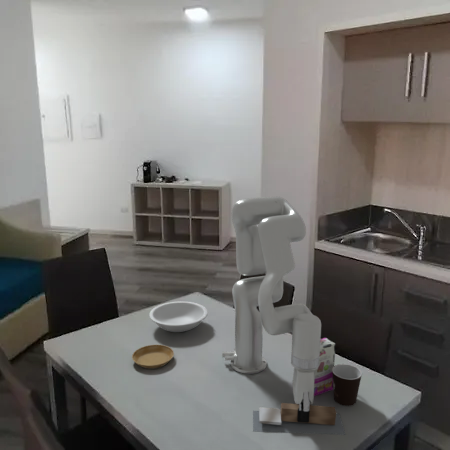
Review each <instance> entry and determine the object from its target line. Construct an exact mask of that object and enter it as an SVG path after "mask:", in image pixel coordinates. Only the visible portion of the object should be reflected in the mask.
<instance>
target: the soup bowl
mask: <svg viewBox="0 0 450 450" xmlns="http://www.w3.org/2000/svg"><path fill="white" fill-rule="evenodd" d="M208 314H209V312H208V309H207V308H206V307H205V305H202V304H200V303H197V302H193V301H182V300H181V301H180V300H179V301H177V300H176V301H171V302H165V303H163V304H162V303H161V304H159V305H156V306H154V308H151V310H150V312H149V316H148V317H149V319H150V321H152V322H153V323H155V324H156V325H157V326H158V327H159V328H161V329H162V330H164V331H167V332H172V333H182V332H188V331H191V330H192V329H195V328H196V327H197V326H198V325H200V324H201V323H202V321H203V320H205V319H206V318H207V316H208Z"/></svg>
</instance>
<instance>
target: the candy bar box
mask: <svg viewBox="0 0 450 450" xmlns="http://www.w3.org/2000/svg"><path fill="white" fill-rule="evenodd" d="M335 353H336V343H335V342H333V341H332V340H330V339H329V338H327V337H323V338H321V339H320V357H319V367H318V369H316V370H315V380H314V397H315V396H319V395H321V394H324V393H327V392H331V391H334V389H333V375H332V368H333V367H334V366H335V357H336V354H335Z"/></svg>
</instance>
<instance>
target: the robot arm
mask: <svg viewBox="0 0 450 450" xmlns="http://www.w3.org/2000/svg"><path fill="white" fill-rule="evenodd" d="M231 221H232V225H233V229H234V232H235V249H236V250H235V256H236V258H235V260H236V261H235V262H236V269H237V273H239V275H241V276H246V278H242V279H240V280H237V281H235V283H234V284H233V286H232V291H231V292H232V300H233V306H234V348H233V350H231V351H222V353H221V354H222V355H221V356H222V358H224V359H225V360H224V361H230V366H231V368H232V369H233V370H235V371H237V372H238V373H241V374H247V375H248V374H257V373H261V372H262V371H264V370H265V368H266V367H267V363H268V362H267V360H266V358H265V357H264V356H263V336H264V335H263V334H264V331H263V330H265V332H266V333H267V334H268V335H269V336H270V335H271V336H280V335H286V334H289V333H291V357H290V359H291V360H290V361H291V362H290V364H291V366H292V367H293V374H292V395H293V400H294V404H297V405H299V408H298V414H297V421H298V422H307V423H308V422H309V412H310V409H309V405H314V398H315V396H314V380H315V370H316V369H318V367H319V357H320V339H322V338H321V337H322V322H321V319H320V318H319V317H318V316H317V315H314V314H313V313H312V312H311V310H310V308H308V306H307V305H305V304H304V303H292V304H288V305H287V304H286V305H281V306H276V307H275V306H274V304H275V303H277V302H280V300H281V299H282V297H283V294H284V277H285V276H287V275H288V274H290V273H292V272H293V271H294V270H295V268H296V262H295V259H294V258H295V257H294V253H293V249H292V246H291V243H297V242H300V241H303V240H304V239H305V236H306V234H307V229H306V224H305V221H304V220H303V217H302V216H301V214H299V212H298V211H297V210H296V209H295V207H293V206H292V205H291V203H290V202H289V201H288V200H286V199H285V198H284V197H281V196H267V197H266V196H265V197H250V198H243V199H240V200H237V201H236V202H234V204H233V206H232V208H231ZM262 274H263V275H262ZM264 274H265V275H264ZM256 275H262V276H256ZM247 276H249V277H248V278H247ZM250 276H254V277H250ZM257 307H258V308H257ZM263 328H264V329H263Z"/></svg>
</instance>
